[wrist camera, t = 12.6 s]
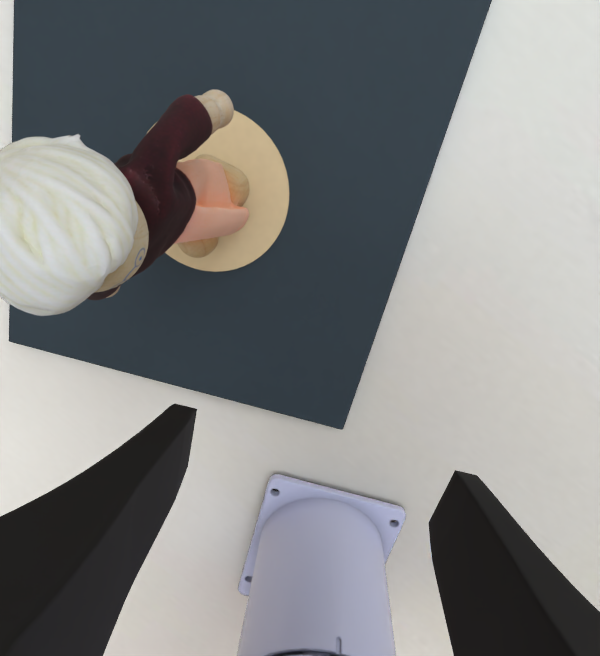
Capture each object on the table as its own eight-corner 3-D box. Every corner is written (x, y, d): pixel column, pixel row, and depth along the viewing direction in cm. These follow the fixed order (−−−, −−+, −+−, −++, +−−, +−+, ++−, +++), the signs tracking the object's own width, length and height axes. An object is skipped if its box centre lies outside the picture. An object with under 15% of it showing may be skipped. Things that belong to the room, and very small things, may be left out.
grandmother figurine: (217, 291, 21) (57, 461, 9) (142, 253, 20) (-130, 376, 8) (290, 133, 18) (204, 69, 6) (206, 85, 18) (-59, -80, 6)
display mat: (342, 424, 23) (342, 432, 23) (15, 338, 23) (5, 343, 22) (493, -14, 16) (500, -22, 16) (24, -149, 16) (11, -162, 15)
